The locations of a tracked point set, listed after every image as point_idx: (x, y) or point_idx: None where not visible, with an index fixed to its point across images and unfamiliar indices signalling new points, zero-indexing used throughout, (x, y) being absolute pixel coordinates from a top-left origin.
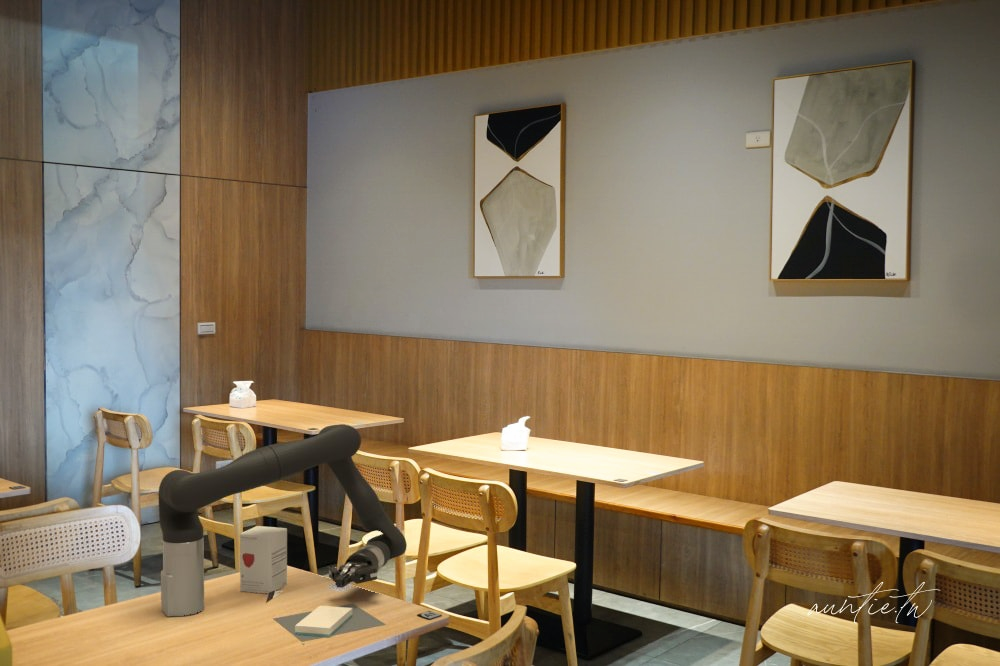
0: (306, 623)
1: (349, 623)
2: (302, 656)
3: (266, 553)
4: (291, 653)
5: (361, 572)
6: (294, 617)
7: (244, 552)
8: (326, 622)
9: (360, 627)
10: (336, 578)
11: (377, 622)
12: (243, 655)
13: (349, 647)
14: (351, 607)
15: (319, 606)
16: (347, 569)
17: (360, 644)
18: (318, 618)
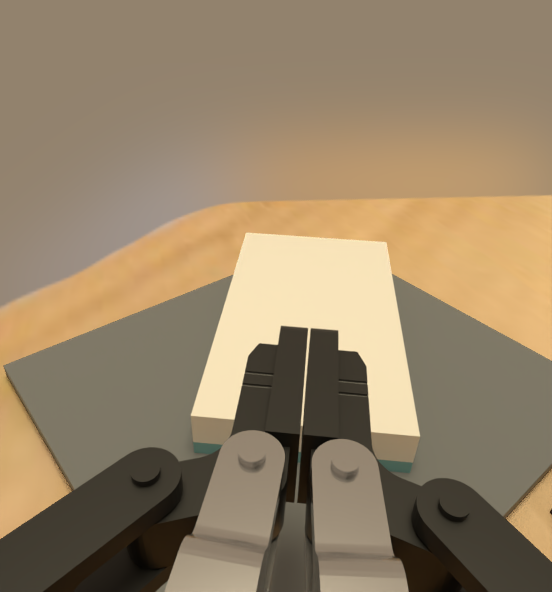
0: (353, 255)
1: (194, 366)
2: (289, 203)
3: None
4: (327, 212)
5: (89, 500)
6: (518, 414)
7: None
8: (275, 264)
9: (134, 332)
10: (360, 374)
11: (45, 384)
12: (447, 203)
13: (166, 239)
14: None
15: (414, 424)
16: (318, 551)
17: (130, 253)
18: (329, 292)
